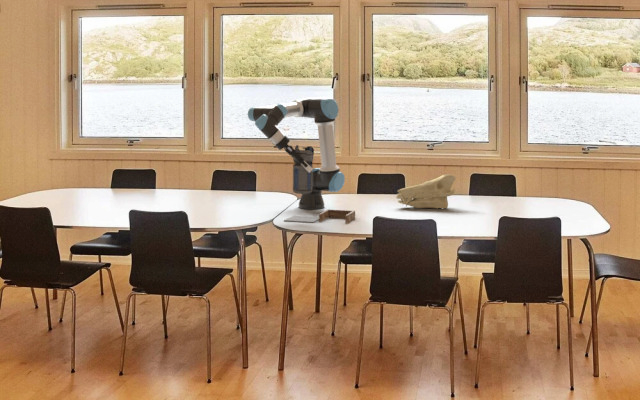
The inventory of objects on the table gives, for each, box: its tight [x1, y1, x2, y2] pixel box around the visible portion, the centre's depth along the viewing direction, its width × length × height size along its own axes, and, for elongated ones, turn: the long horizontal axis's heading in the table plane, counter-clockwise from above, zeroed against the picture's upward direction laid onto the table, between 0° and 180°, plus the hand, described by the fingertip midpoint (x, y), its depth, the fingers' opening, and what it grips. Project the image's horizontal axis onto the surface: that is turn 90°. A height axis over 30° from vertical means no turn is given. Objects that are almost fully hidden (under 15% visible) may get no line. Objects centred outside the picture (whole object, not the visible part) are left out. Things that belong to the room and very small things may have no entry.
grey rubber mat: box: [283, 214, 319, 224], centre depth 394 cm, size 18×16×1 cm
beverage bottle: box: [292, 144, 315, 195], centre depth 391 cm, size 10×13×25 cm
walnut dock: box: [318, 209, 356, 224], centre depth 395 cm, size 18×15×4 cm
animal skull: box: [395, 173, 456, 209], centre depth 444 cm, size 15×35×20 cm, turn 96°
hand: (309, 170), depth 392 cm, fingers closed on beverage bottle, 10 cm apart
